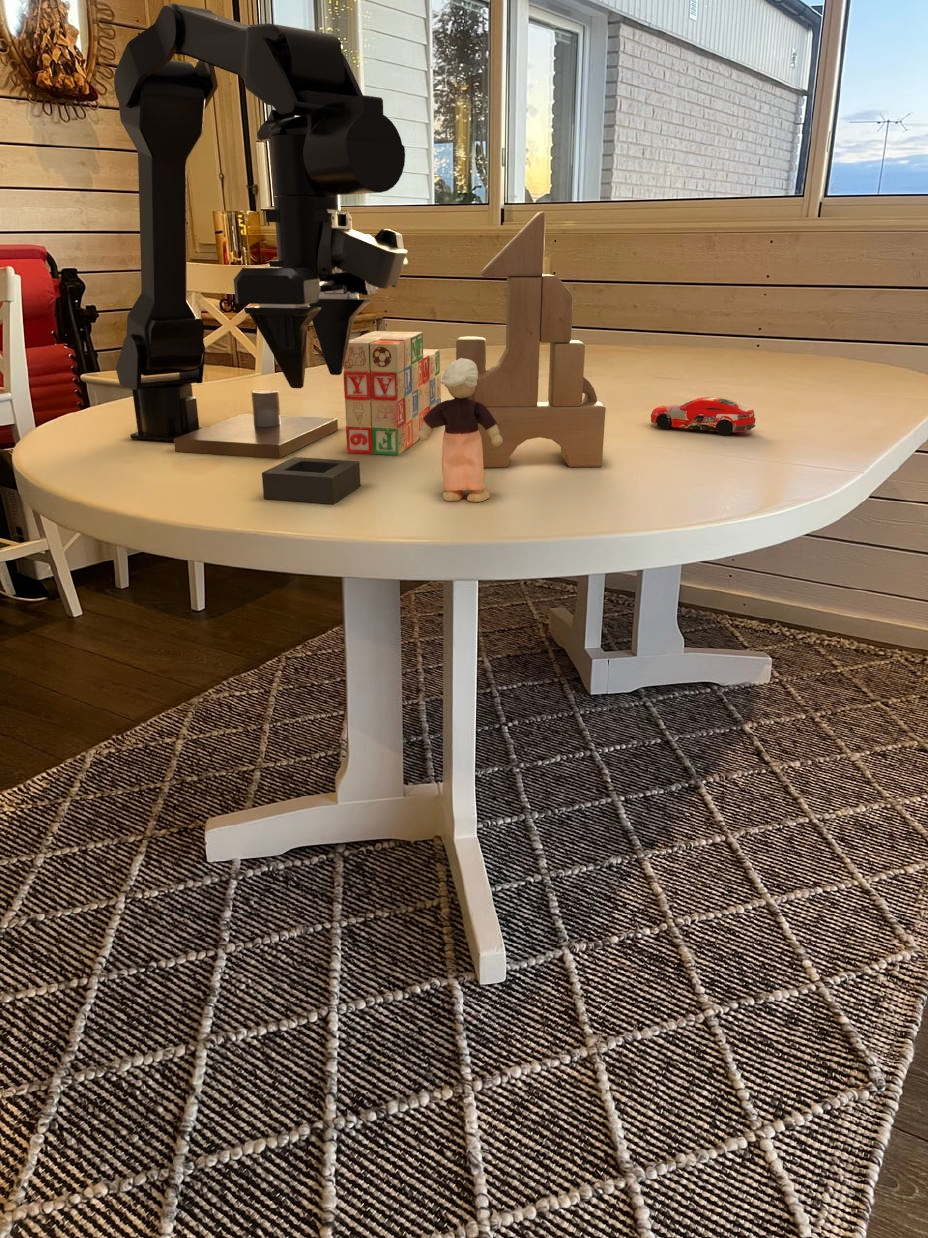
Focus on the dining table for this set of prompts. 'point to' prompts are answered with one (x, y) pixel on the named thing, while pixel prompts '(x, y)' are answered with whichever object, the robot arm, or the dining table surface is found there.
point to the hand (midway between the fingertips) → (317, 381)
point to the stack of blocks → (388, 390)
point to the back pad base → (258, 431)
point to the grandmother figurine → (462, 433)
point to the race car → (705, 415)
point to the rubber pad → (311, 480)
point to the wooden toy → (535, 362)
